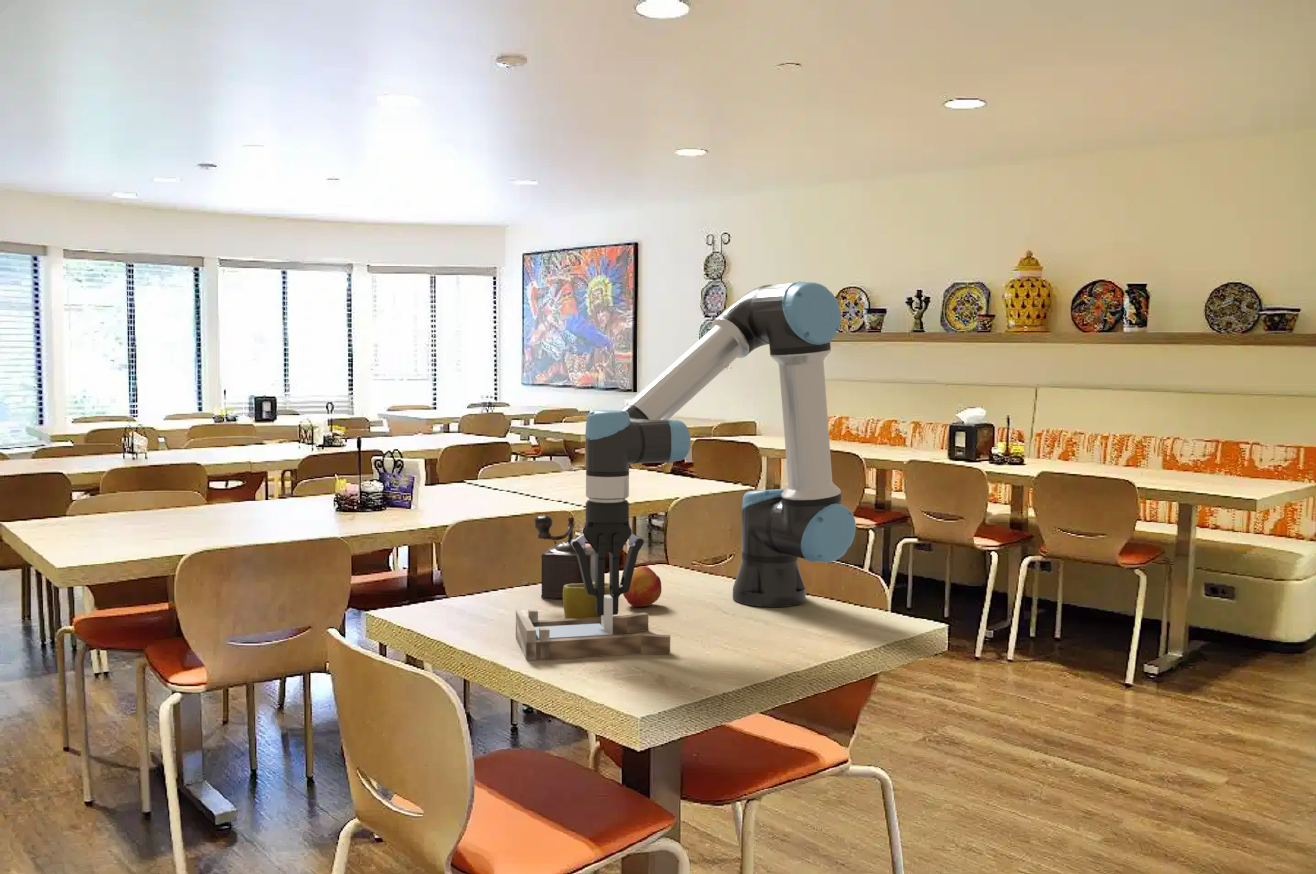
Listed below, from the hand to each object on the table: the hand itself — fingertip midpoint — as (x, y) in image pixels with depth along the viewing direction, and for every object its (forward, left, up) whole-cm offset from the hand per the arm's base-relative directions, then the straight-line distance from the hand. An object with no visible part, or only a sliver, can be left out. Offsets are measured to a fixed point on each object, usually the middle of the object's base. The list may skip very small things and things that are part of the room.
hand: (606, 633), depth 192 cm
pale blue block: (+7, +2, -2) cm, 7 cm away
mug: (0, -14, -2) cm, 14 cm away
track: (+3, 0, -2) cm, 3 cm away
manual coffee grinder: (+1, -39, -2) cm, 39 cm away
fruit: (-13, -27, -2) cm, 30 cm away
